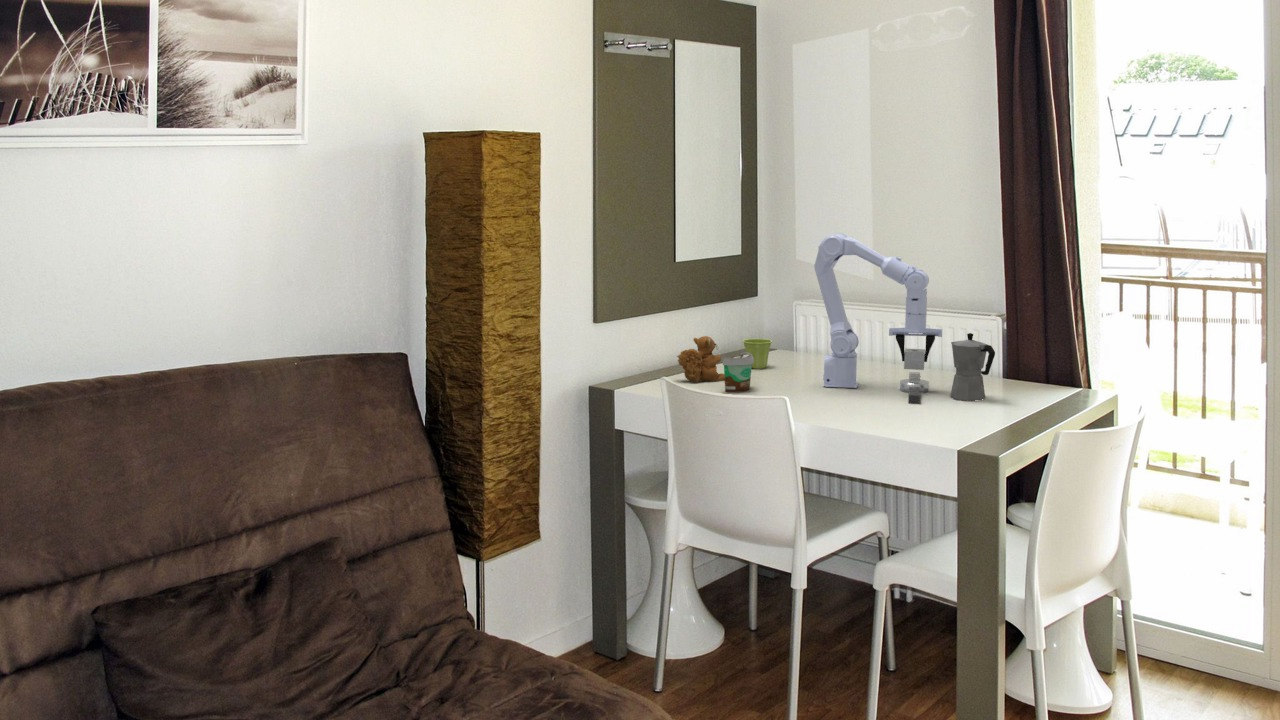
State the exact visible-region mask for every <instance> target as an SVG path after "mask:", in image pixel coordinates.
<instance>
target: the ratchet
mask: <svg viewBox="0 0 1280 720" xmlns="http://www.w3.org/2000/svg"><path fill="white" fill-rule="evenodd" d="M908 375H909V376H908V378H904V379H900V380H899V391H900V392H904V393H908V401H907V402H908V404H917V405H918V404H919V405H920V394H922V393H923V394H924V393H928V392H929V391H930V389H929V387H930V381H928V380H926V379H922V378H921V372H920V371H909V373H908Z"/></svg>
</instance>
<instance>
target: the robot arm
mask: <svg viewBox="0 0 1280 720" xmlns="http://www.w3.org/2000/svg"><path fill="white" fill-rule="evenodd" d="M843 256H856V257H859V258H861V259H863V260H865V261H867V262H868V263H870V264H872V265H875V266H877V267H879V268H880V270H881V273H882V275H884V276H886V277H887V278H889V279H891V280H893V281H894V282H896V283H897V284H900V285H904V287H905V289H906V297H905V316H904V317H905V321H904V322H905V323H904V324H905V325H904V327H889V328H888V336H891V337H892V336H895V340H896V342H897V343H896V344H897V345H898V347H899V350H900V355H901V362H904V358H905V341H906V340H905V338H906V337H907V336H909V337H911V336H912V337H925V348H924V349H925V359H924V363H927V362H928V357H929V354H930V351H931V348H932V347H933V344H934V343H935V341H936V337H939V338H942V337H943V329H941V328H928V327H927V312H928V311H927V310H928V309H927V307H928V297H927V295H928V291H927V290H928V289H927V287H928V285H929V283H930V279H929V278H930V277H929V276H928V273H927V272H925V271H924V270H923V269H917V266H915V265H910V264H908V263H906V262H904V261H903V260H902V257H900V256H896V257H895V256H894V255H893V256H889V257H886V256H884V255H883V254H882V253H879V252H877V251H875V250H874V249H873V248H871V247H869V246H868V245H866V244H864V243H862V242H861V241H860V240H857V239H856V238H853V237H852V236H851V237H850V236H847V235H846V234H844V233H841V232H839V233H835V234H829V235H826V236H825V237H824V238H823V239H822V241H821V242H820V243H819V245H818V250H817V254H816V259H815V263H814V267H813V268H814V272H815V275H816V279H817V282H818V285H819V289H820V293H821V296H822V300H823V303H824V307H825V311H826V314H827V318H828V320H829V324H830V329H829V334H830V344H829V347H830V350H831V351H832V352H831V354H828V355H824V362H823V363H824V364H823V375H822V377H823V378H822V379H823V387H824V386H825V387H824V388H847V389H849V388H850V389H851V388H853V389H857V388H858V387H859V386H858V385H859V381H857V374H858V373H857V369H858V368H857V367H858V366H857V365H858V353H857V352H856V349H857V348H858V346H859V336H858V335H857V333H855V332H854V330H853V326H852V324H851V323H850V321H849V320H848V316H847V314H846V310H845V307H844V303H843V300H842V299H843V298H842V296H841V292H840V289H839V286H838V282H837V278H836V275H835V270H834V267H836V265H837V263H838V261H839V260H840V259H841V258H842V257H843Z"/></svg>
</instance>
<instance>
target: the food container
mask: <svg viewBox="0 0 1280 720" xmlns="http://www.w3.org/2000/svg"><path fill="white" fill-rule="evenodd" d="M752 363H754V359H753V356H752V354H750V353H746V351H741V353H740V355H738V356H732V357H723V361H722V366H723V370H724V372H723V374H724V377H725V380H724V392H727V393H741V392H742V393H743V392H744V393H745V392H748V391H749V390H750V389H751V375H752V368H751V367H752Z"/></svg>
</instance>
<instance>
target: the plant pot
mask: <svg viewBox="0 0 1280 720" xmlns="http://www.w3.org/2000/svg"><path fill="white" fill-rule="evenodd" d="M742 343H743V347H744V349H745V352H746V353H750V354H752V356H753V359H754V363H752V367H751V369H756V370H757V369H765V368H768V360H769V355H770V348H771V345H772V343H773V340H771V339H767V338H747V339H742Z"/></svg>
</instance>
